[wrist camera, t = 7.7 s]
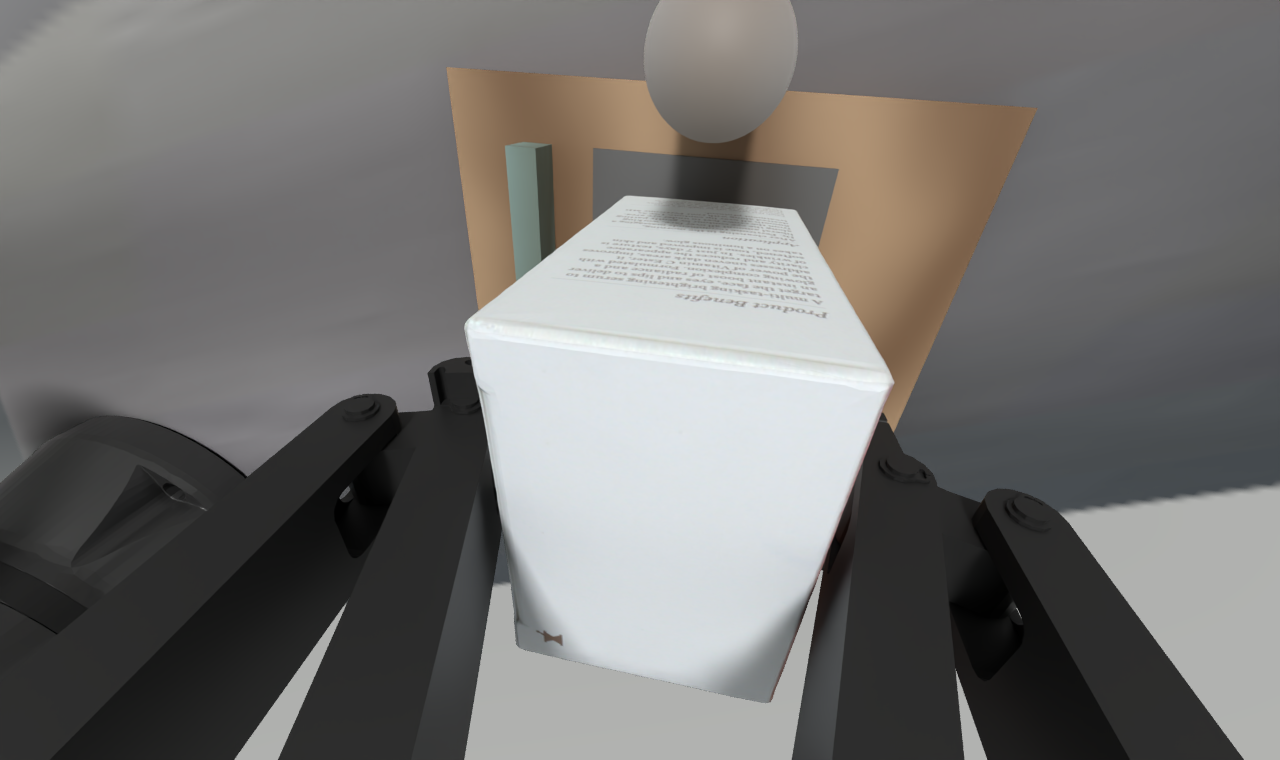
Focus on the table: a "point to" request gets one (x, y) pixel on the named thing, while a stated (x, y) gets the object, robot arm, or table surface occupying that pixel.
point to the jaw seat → (740, 164)
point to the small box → (674, 438)
